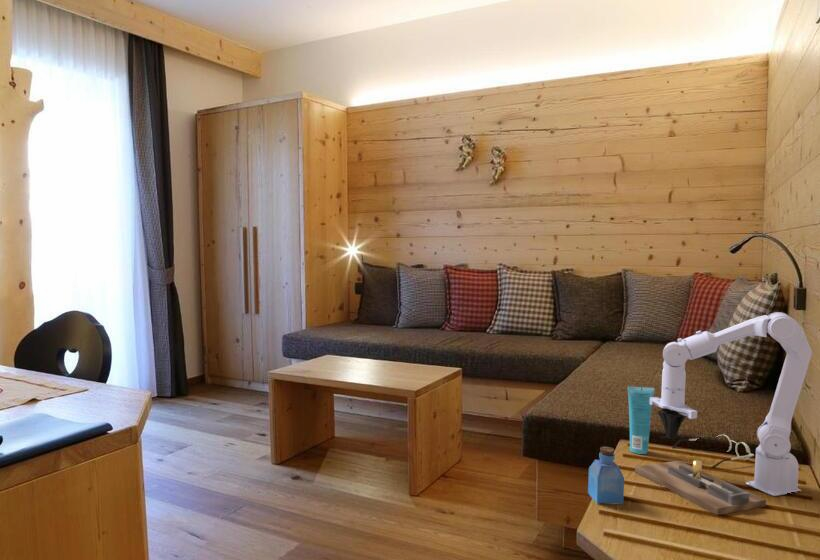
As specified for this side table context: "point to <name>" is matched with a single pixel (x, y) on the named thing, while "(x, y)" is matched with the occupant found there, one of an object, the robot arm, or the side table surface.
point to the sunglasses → (727, 451)
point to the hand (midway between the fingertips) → (671, 437)
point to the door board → (700, 488)
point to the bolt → (697, 474)
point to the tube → (639, 418)
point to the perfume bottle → (606, 479)
